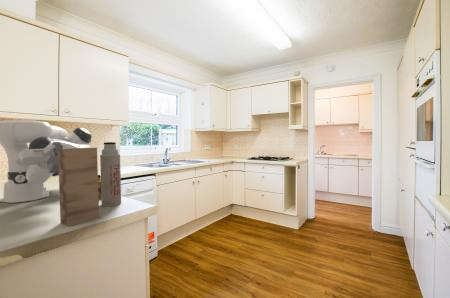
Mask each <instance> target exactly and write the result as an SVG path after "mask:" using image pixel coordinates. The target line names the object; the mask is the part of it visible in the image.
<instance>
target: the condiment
mask: <svg viewBox="0 0 450 298" xmlns="http://www.w3.org/2000/svg"><path fill="white" fill-rule="evenodd" d="M98 198H99V200H101V174H98Z"/></svg>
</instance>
